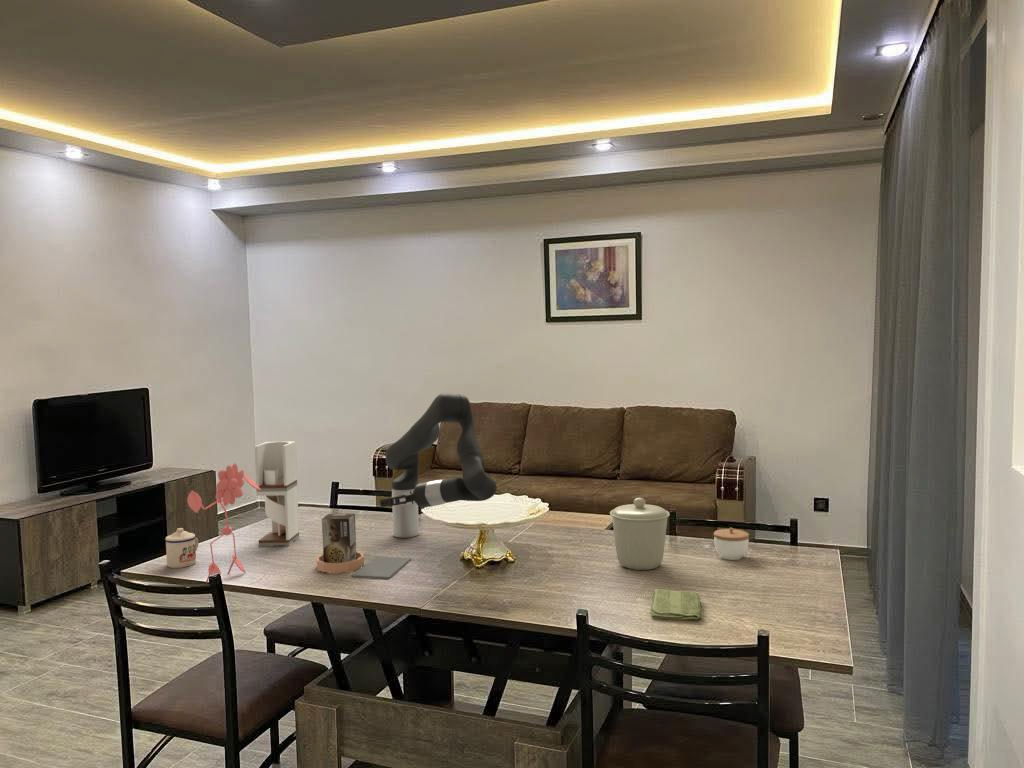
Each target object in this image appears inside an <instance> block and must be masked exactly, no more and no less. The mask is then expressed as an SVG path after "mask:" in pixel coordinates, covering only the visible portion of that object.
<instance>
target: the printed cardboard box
mask: <svg viewBox="0 0 1024 768" xmlns="http://www.w3.org/2000/svg"><path fill="white" fill-rule="evenodd" d="M321 532H322V536H321V537H322V549H323V550H322V554H323V558H324V562H326V563H341V562H349V561H352V560H356V559H357V555H356V551H357V536H356V534H357V533H356V532H357V531H356V514H355V513H328V514H326V515H324V517H322V518H321Z"/></svg>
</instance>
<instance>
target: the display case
mask: <svg viewBox="0 0 1024 768" xmlns="http://www.w3.org/2000/svg"><path fill="white" fill-rule="evenodd" d="M296 445H297V444H296V441H265V442H262V443H260V444H257V445H255V446H254V459H255V461H254V463H255V465H254V466H255V481H256V482H255V483H256V484H257V485H258V487H259V488H260V489H261V491H260V490H258V489H255V490H256V497H258V496H260V497H262V496H264V507H265V510H264V511H265V515H266V517H267V518H268V519H270V520H271V531H269V532H268V533H267V534H265V535H264V536H263V537H261V538H260V539H258V547H274V546H273V545H277V546H276V547H279V546H278V545H285V546H284V547H287V546H286V545H289V546H291V545H292V544H293V543H294V542H295V541H297V540H298V539H299V538H300V525H299V522H300V521H299V496H298V468H297V466H298V465H297V446H296ZM298 537H299V538H298ZM297 538H298V539H297ZM296 539H297V540H296ZM294 540H295V541H294ZM293 541H294V542H293ZM292 542H293V543H292ZM291 543H292V544H291ZM290 544H291V545H290Z"/></svg>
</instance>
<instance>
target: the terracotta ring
mask: <svg viewBox="0 0 1024 768" xmlns="http://www.w3.org/2000/svg"><path fill="white" fill-rule="evenodd" d="M356 555H357V559H356V560H352V561H349V562H341V563H326V562H324V558H323V553H321V554H320V555H318V556H316V557H315V560H316V562H315V564H316V570H319V571H318V572H320V571H322V572H321V573H323V572H327V573H326V574H342V573H343V572H345V573H351V572H353V571H357V570H359V569H360V568H361V567H363V566H364V565H365V556H364V553H363V552H361V551H357V550H356ZM329 572H330V573H329Z"/></svg>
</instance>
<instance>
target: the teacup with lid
mask: <svg viewBox="0 0 1024 768" xmlns="http://www.w3.org/2000/svg"><path fill="white" fill-rule="evenodd" d="M164 542H165V550H166V551H165V553H166V566H167V567H168V568H171V569H180V568H188V567H191V566H193V565H194V564H196V562H197V555H196V553H197V550H198V549H199V539H198V538H197V537H196V535H195V533H193V532H188V531H186V530H184V528H183V527H179V528H176V531H175V532H173V533H172V534H170V535H167V536H165V539H164ZM187 566H188V567H187Z"/></svg>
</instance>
